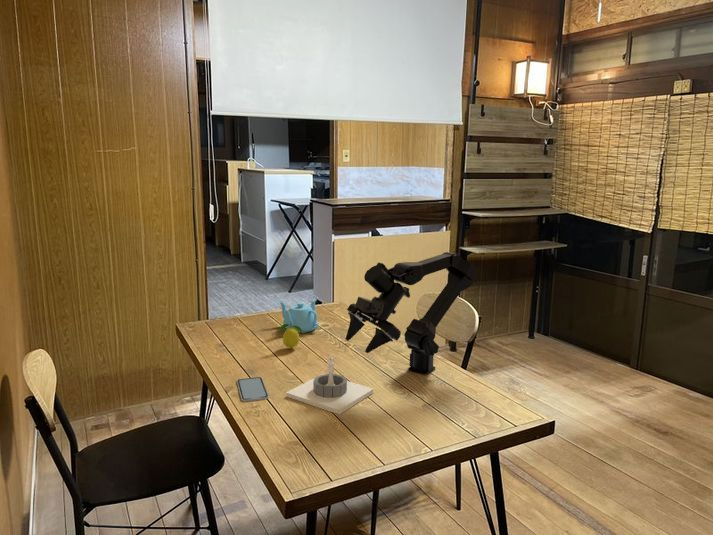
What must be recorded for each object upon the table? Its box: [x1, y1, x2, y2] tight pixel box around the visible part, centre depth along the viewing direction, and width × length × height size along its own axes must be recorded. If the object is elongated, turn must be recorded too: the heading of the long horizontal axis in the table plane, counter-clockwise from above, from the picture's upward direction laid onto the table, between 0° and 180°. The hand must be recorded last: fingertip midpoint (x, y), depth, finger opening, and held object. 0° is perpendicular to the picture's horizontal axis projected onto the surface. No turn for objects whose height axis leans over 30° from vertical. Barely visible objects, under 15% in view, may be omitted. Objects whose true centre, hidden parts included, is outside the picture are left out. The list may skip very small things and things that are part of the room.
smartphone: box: [236, 376, 270, 403], centre depth 150 cm, size 7×1×15 cm
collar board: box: [285, 373, 374, 415], centre depth 147 cm, size 18×16×4 cm
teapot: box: [278, 298, 319, 334], centre depth 203 cm, size 15×15×10 cm
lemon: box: [278, 323, 303, 350], centre depth 181 cm, size 7×6×10 cm
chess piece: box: [326, 355, 335, 386], centre depth 146 cm, size 5×5×10 cm
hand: (356, 346), depth 150 cm, fingers open, 9 cm apart
